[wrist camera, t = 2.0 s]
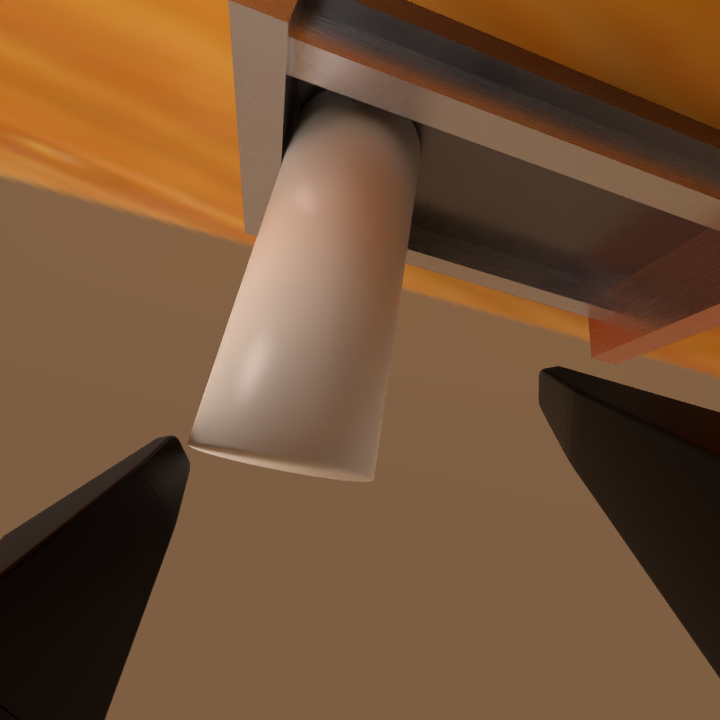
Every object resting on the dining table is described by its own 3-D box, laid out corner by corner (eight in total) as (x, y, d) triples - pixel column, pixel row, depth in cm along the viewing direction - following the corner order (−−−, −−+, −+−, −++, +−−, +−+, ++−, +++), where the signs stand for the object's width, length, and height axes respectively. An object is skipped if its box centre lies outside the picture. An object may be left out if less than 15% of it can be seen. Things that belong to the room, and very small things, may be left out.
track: (254, 183, 19) (227, 256, 17) (245, -66, 10) (191, 28, 9) (614, 295, 22) (622, 366, 20) (824, 174, 14) (867, 276, 12)
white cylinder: (289, 182, 17) (202, 455, 12) (299, 63, 12) (165, 430, 8) (396, 216, 17) (351, 483, 13) (442, 116, 13) (399, 477, 8)
